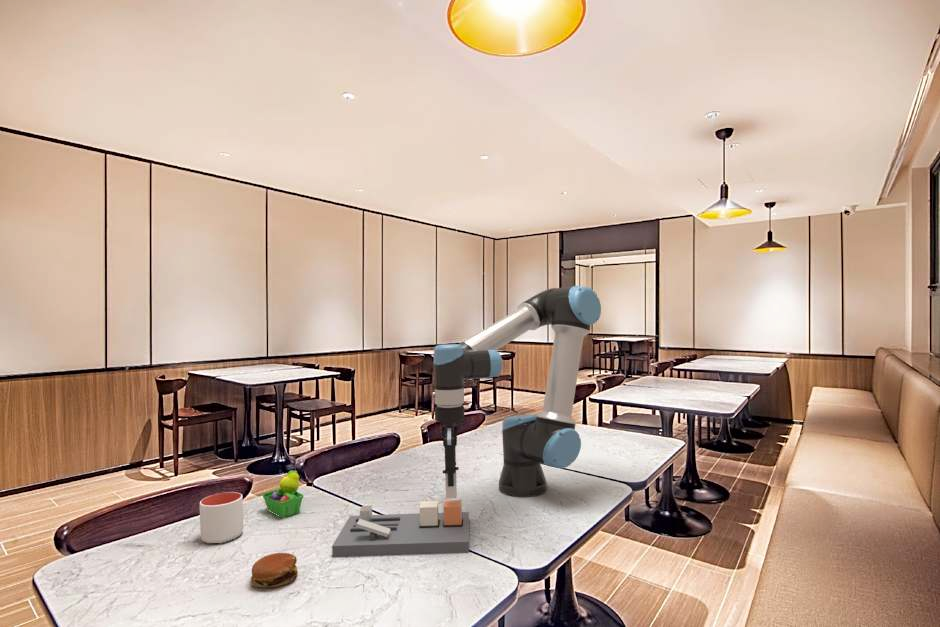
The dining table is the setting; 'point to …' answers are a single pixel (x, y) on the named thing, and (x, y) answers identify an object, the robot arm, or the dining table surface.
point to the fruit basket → (285, 496)
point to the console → (402, 537)
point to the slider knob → (366, 513)
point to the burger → (274, 570)
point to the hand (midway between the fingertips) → (451, 497)
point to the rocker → (373, 527)
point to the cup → (221, 517)
